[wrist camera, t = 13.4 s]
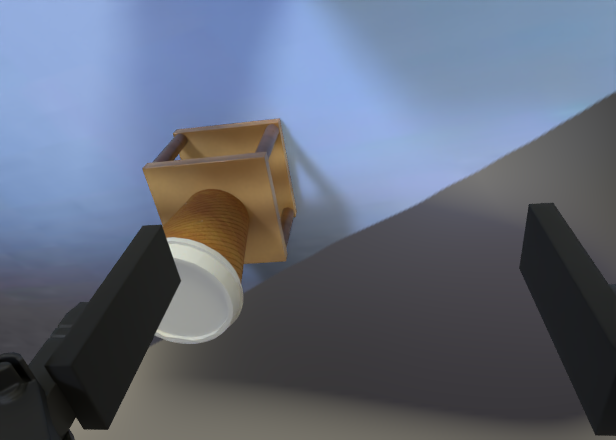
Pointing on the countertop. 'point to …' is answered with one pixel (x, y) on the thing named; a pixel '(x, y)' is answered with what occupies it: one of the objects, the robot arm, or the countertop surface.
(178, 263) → the disposable coffee cup
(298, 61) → the countertop surface
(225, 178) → the oak rack
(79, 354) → the robot arm
